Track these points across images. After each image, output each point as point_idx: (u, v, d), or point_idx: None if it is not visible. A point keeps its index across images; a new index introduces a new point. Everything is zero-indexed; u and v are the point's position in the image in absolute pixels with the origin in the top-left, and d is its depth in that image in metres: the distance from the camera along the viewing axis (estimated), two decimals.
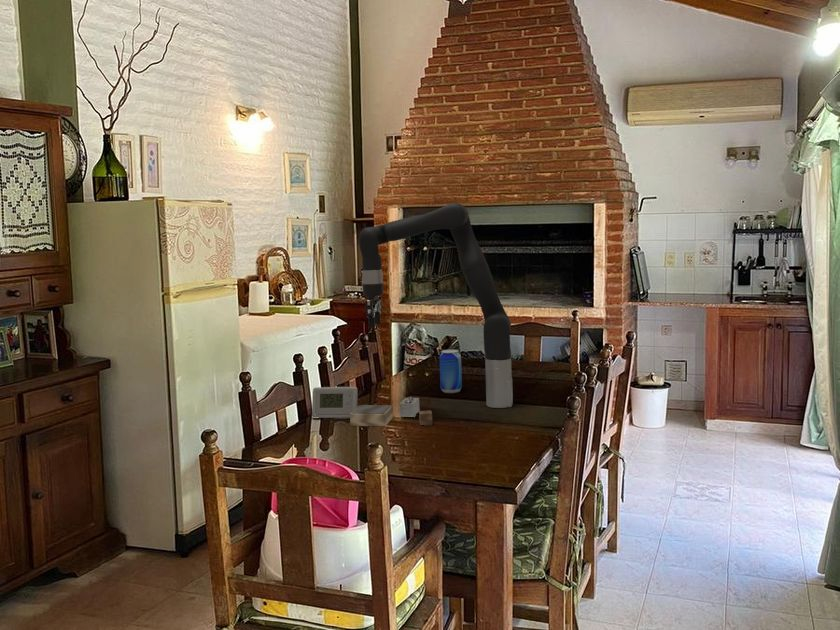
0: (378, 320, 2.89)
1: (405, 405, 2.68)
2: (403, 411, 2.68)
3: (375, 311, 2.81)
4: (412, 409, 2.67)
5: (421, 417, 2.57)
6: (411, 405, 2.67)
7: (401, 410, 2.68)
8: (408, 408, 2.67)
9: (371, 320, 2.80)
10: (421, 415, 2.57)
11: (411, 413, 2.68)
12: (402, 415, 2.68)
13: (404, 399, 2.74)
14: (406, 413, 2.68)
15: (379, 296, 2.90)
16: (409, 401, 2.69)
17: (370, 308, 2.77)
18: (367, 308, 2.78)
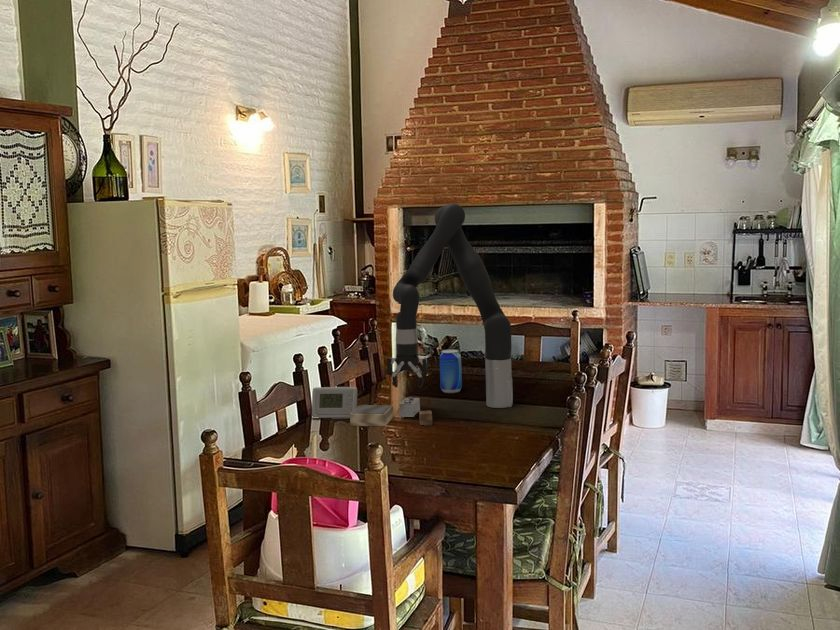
0: (397, 382, 2.73)
1: (404, 405, 2.68)
2: (402, 411, 2.68)
3: None
4: (411, 409, 2.67)
5: (421, 417, 2.57)
6: (410, 405, 2.67)
7: (401, 410, 2.68)
8: (407, 408, 2.68)
9: (422, 379, 2.70)
10: (421, 415, 2.57)
11: (410, 413, 2.68)
12: (401, 415, 2.68)
13: (404, 399, 2.74)
14: (405, 413, 2.68)
15: (391, 357, 2.72)
16: (409, 401, 2.69)
17: (427, 366, 2.70)
18: (426, 366, 2.69)
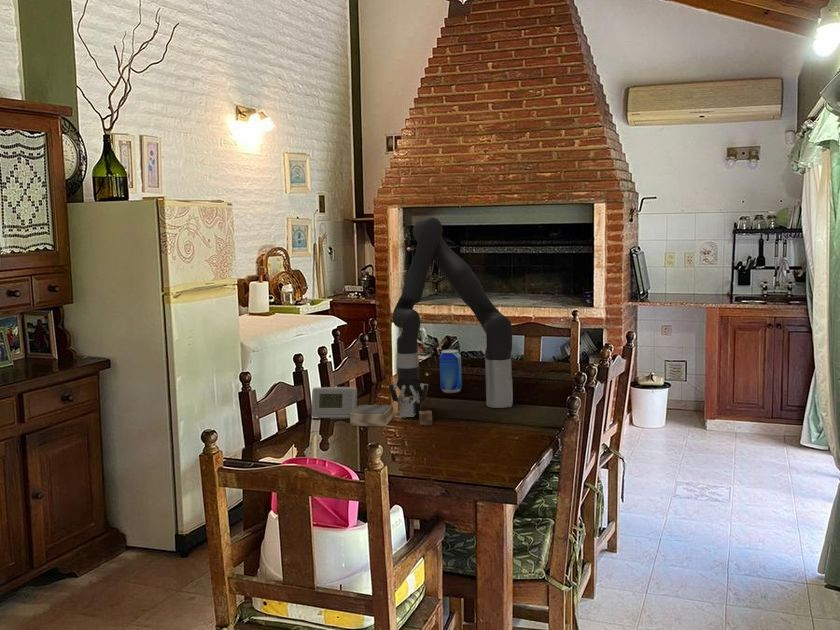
0: None
1: (404, 404, 2.68)
2: (402, 411, 2.68)
3: None
4: (411, 409, 2.67)
5: (421, 417, 2.57)
6: (410, 405, 2.67)
7: (401, 410, 2.68)
8: (407, 408, 2.68)
9: (420, 404, 2.71)
10: (421, 415, 2.57)
11: (410, 413, 2.67)
12: (401, 414, 2.68)
13: None
14: (405, 413, 2.68)
15: (392, 383, 2.73)
16: (408, 401, 2.69)
17: (426, 392, 2.71)
18: (426, 393, 2.70)
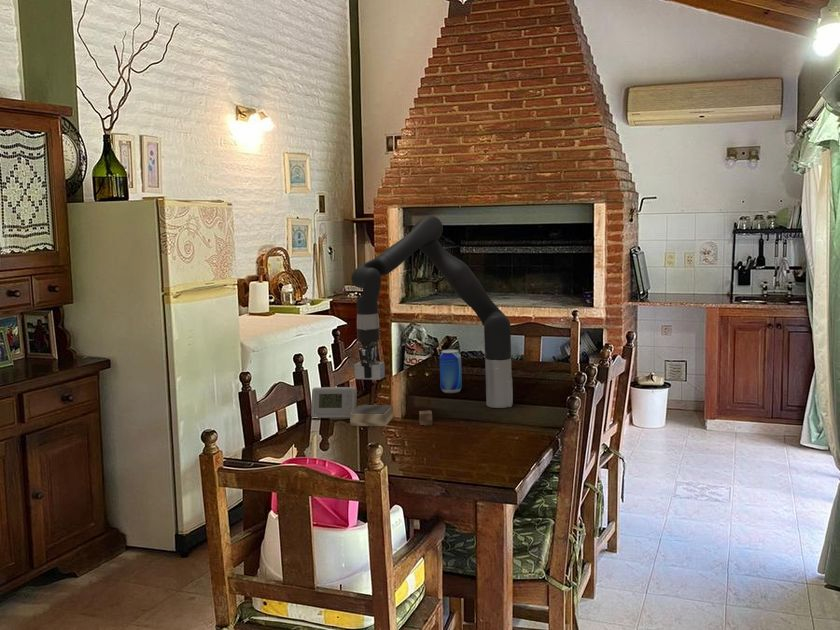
0: None
1: (381, 365, 2.61)
2: (381, 372, 2.60)
3: None
4: (384, 368, 2.63)
5: (421, 417, 2.57)
6: (383, 364, 2.63)
7: (380, 371, 2.60)
8: (382, 367, 2.62)
9: None
10: (421, 415, 2.57)
11: (383, 372, 2.63)
12: (381, 376, 2.60)
13: None
14: (382, 373, 2.62)
15: None
16: (378, 361, 2.62)
17: None
18: None
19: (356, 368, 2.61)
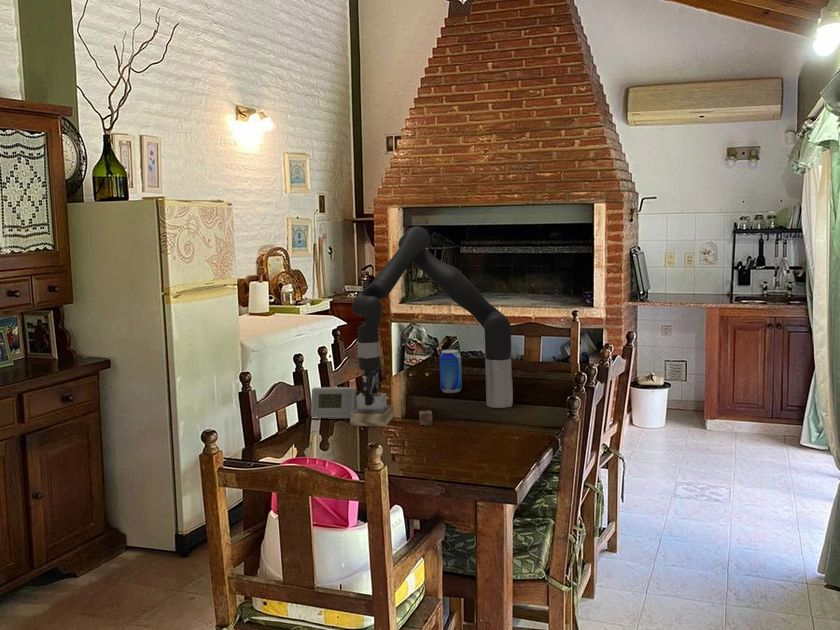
0: None
1: (383, 396, 2.62)
2: (383, 404, 2.62)
3: None
4: (385, 399, 2.65)
5: (421, 417, 2.57)
6: (385, 395, 2.64)
7: (382, 403, 2.61)
8: (384, 399, 2.63)
9: None
10: (421, 415, 2.57)
11: (385, 403, 2.65)
12: (383, 408, 2.62)
13: (364, 396, 2.62)
14: (384, 405, 2.63)
15: (363, 376, 2.57)
16: None
17: None
18: None
19: (358, 400, 2.62)
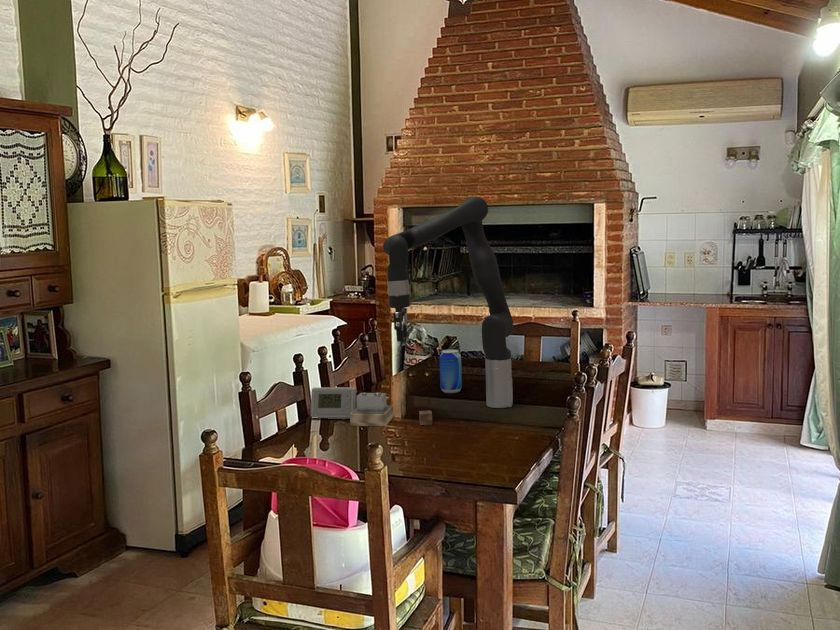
0: None
1: (383, 396, 2.62)
2: (383, 404, 2.62)
3: None
4: (385, 399, 2.65)
5: (421, 417, 2.57)
6: (385, 395, 2.64)
7: (382, 403, 2.61)
8: (384, 399, 2.63)
9: None
10: (421, 415, 2.57)
11: (385, 403, 2.65)
12: (383, 408, 2.62)
13: (364, 396, 2.62)
14: (384, 405, 2.63)
15: (395, 312, 2.65)
16: None
17: None
18: None
19: (358, 400, 2.62)
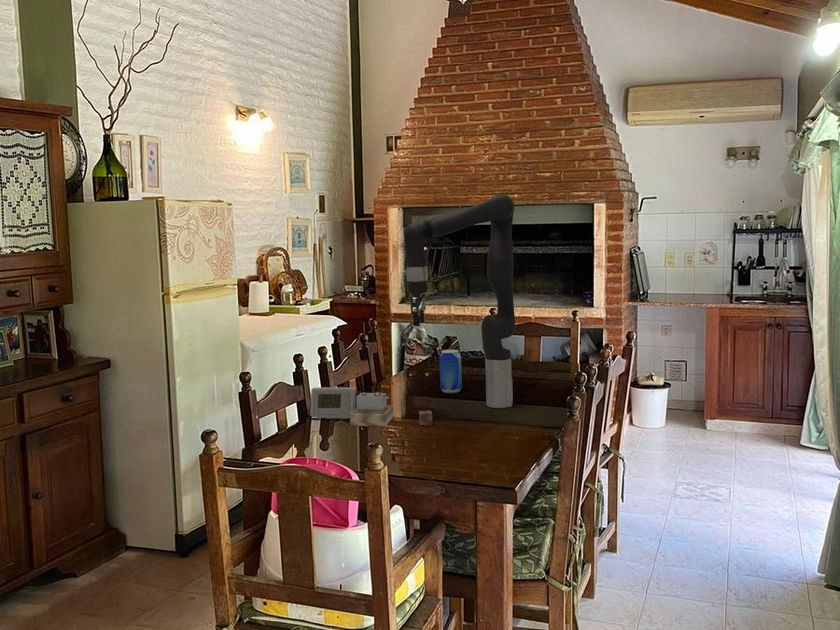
0: None
1: (383, 396, 2.62)
2: (383, 404, 2.62)
3: None
4: (385, 399, 2.65)
5: (421, 417, 2.57)
6: (385, 395, 2.64)
7: (382, 403, 2.61)
8: (384, 399, 2.63)
9: None
10: (421, 415, 2.57)
11: (385, 403, 2.65)
12: (383, 408, 2.62)
13: (364, 396, 2.62)
14: (384, 405, 2.63)
15: None
16: None
17: None
18: None
19: (358, 400, 2.62)
